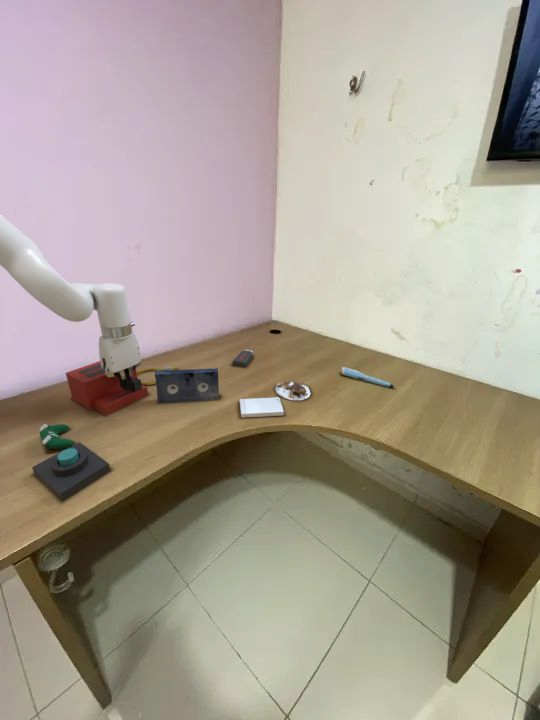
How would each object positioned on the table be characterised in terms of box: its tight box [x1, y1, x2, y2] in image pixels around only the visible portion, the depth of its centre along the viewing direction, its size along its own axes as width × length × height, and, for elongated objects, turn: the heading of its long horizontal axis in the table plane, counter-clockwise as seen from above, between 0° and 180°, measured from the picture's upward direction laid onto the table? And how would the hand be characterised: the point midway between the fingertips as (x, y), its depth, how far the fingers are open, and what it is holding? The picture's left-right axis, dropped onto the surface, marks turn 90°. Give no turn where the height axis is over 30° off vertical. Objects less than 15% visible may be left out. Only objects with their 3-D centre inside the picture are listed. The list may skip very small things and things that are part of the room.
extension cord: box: [136, 365, 178, 387], centre depth 108 cm, size 12×16×2 cm
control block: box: [31, 441, 111, 502], centre depth 67 cm, size 12×10×4 cm
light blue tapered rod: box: [341, 366, 395, 388], centre depth 112 cm, size 19×3×3 cm, turn 60°
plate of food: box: [274, 381, 311, 401], centre depth 102 cm, size 12×12×4 cm
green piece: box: [38, 423, 75, 450], centre depth 76 cm, size 9×4×6 cm
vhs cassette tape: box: [154, 368, 220, 404], centre depth 94 cm, size 18×3×10 cm, turn 99°
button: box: [57, 448, 79, 466], centre depth 66 cm, size 4×4×2 cm
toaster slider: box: [131, 377, 142, 391], centre depth 94 cm, size 2×2×3 cm
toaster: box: [65, 360, 149, 417], centre depth 94 cm, size 16×16×9 cm
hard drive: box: [239, 396, 285, 419], centre depth 93 cm, size 2×8×12 cm
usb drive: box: [232, 349, 254, 369], centre depth 123 cm, size 5×12×3 cm, turn 166°
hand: (127, 388), depth 92 cm, fingers closed
